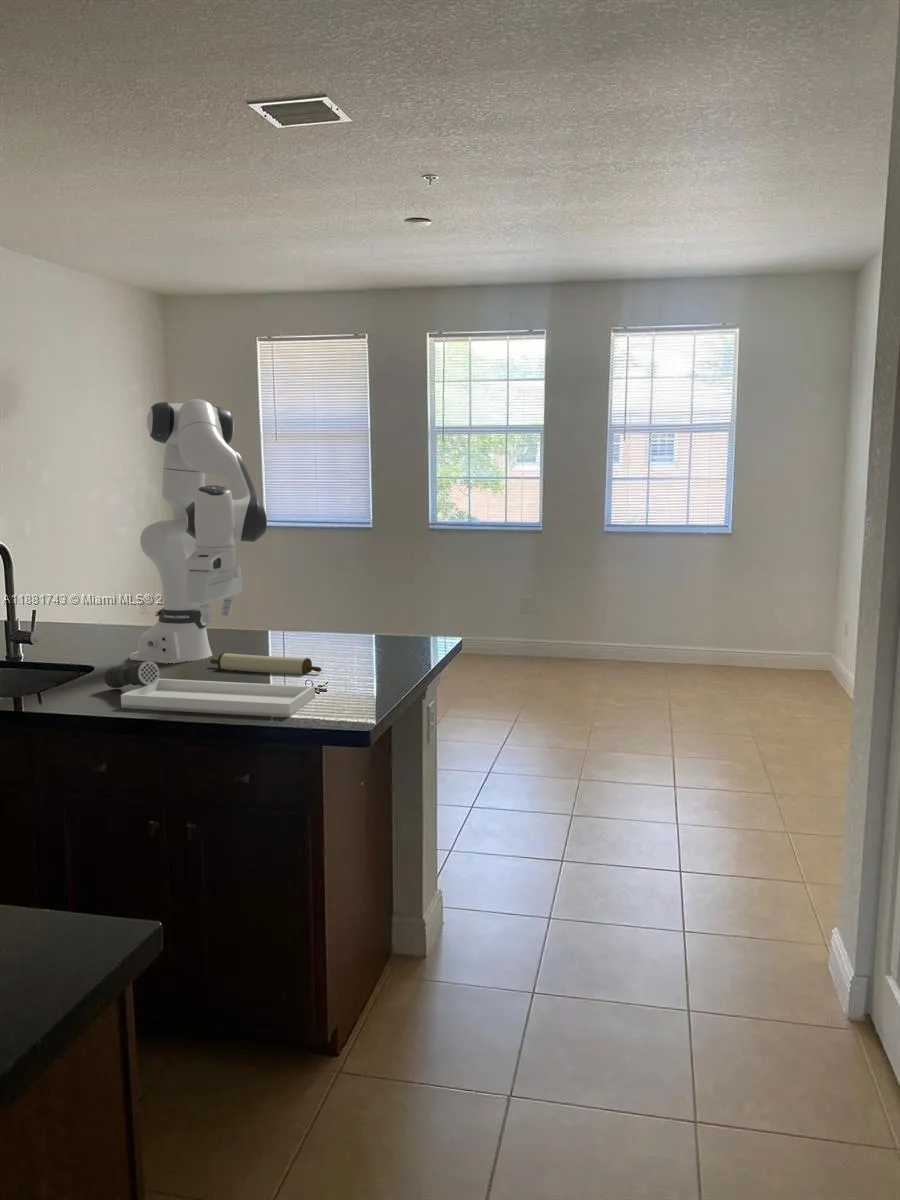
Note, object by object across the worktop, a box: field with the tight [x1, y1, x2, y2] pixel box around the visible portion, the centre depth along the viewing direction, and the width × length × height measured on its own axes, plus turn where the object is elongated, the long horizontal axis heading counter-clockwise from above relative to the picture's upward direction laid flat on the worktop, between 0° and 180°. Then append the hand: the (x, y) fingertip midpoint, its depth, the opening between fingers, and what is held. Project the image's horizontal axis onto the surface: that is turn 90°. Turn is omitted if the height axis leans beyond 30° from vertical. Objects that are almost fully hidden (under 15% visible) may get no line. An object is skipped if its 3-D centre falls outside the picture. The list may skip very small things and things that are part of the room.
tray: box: [120, 678, 316, 718], centre depth 200 cm, size 40×16×3 cm, turn 79°
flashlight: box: [103, 661, 160, 689], centre depth 208 cm, size 15×5×5 cm
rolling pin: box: [209, 652, 322, 676], centre depth 230 cm, size 32×6×5 cm, turn 75°
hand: (217, 618), depth 199 cm, fingers open, 8 cm apart
